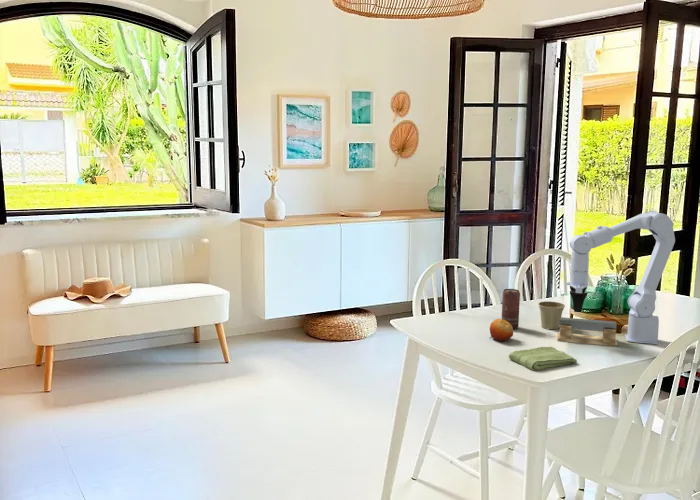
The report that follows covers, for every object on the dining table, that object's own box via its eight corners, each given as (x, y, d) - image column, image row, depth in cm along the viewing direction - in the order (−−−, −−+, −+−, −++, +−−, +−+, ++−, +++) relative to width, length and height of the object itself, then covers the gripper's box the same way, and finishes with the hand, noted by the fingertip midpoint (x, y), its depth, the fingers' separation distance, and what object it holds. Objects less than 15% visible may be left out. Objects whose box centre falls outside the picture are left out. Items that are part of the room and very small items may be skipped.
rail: (615, 330, 221) (615, 321, 221) (615, 332, 218) (616, 323, 218) (559, 325, 226) (560, 317, 226) (559, 327, 224) (560, 319, 223)
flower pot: (565, 331, 233) (566, 308, 232) (537, 330, 235) (539, 306, 234) (562, 324, 242) (563, 302, 241) (536, 323, 244) (537, 300, 243)
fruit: (492, 329, 230) (503, 313, 226) (509, 345, 226) (520, 328, 222) (479, 334, 225) (490, 317, 221) (496, 350, 221) (507, 333, 217)
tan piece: (615, 339, 224) (616, 325, 223) (617, 346, 217) (618, 331, 216) (557, 334, 229) (558, 320, 228) (557, 340, 222) (558, 326, 221)
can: (512, 331, 234) (514, 292, 232) (497, 327, 239) (499, 289, 236) (522, 327, 238) (524, 290, 236) (507, 324, 242) (509, 287, 240)
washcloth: (579, 365, 199) (579, 355, 199) (533, 373, 192) (533, 362, 192) (549, 352, 211) (550, 343, 211) (505, 359, 204) (505, 350, 203)
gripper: (567, 266, 230) (565, 303, 232) (567, 273, 216) (565, 313, 219) (588, 267, 228) (586, 304, 230) (589, 275, 214) (587, 315, 216)
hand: (577, 309), depth 224 cm, fingers open, 7 cm apart
